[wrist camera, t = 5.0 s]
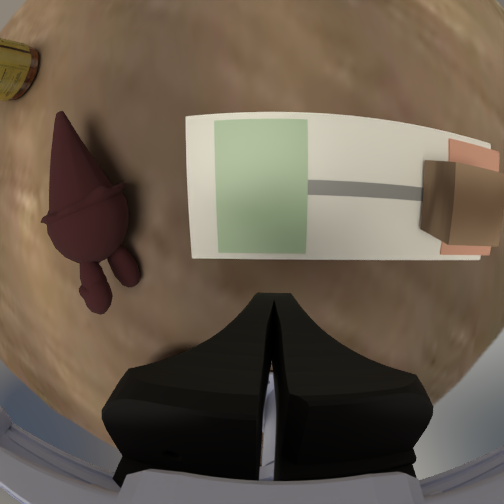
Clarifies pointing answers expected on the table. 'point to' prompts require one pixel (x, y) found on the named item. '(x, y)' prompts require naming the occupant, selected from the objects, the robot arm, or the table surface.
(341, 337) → the table surface
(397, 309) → the table surface
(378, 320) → the table surface
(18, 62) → the sauce bottle
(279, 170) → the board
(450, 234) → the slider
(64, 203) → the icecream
